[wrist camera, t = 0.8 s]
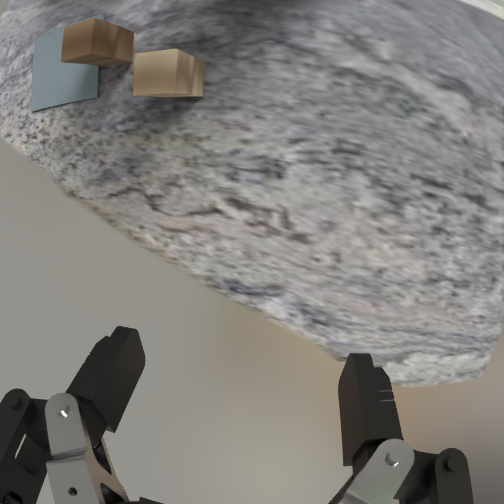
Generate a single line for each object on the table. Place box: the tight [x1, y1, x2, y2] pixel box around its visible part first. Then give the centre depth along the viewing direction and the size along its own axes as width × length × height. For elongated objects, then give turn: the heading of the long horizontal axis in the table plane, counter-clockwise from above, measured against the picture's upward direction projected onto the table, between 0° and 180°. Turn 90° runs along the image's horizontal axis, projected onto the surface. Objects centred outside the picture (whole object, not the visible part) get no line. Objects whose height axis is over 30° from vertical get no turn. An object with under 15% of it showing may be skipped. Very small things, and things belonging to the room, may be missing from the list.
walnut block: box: [61, 18, 136, 67], centre depth 23 cm, size 4×4×9 cm
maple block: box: [133, 49, 205, 98], centre depth 25 cm, size 4×4×9 cm
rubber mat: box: [31, 13, 105, 112], centre depth 27 cm, size 12×13×1 cm
